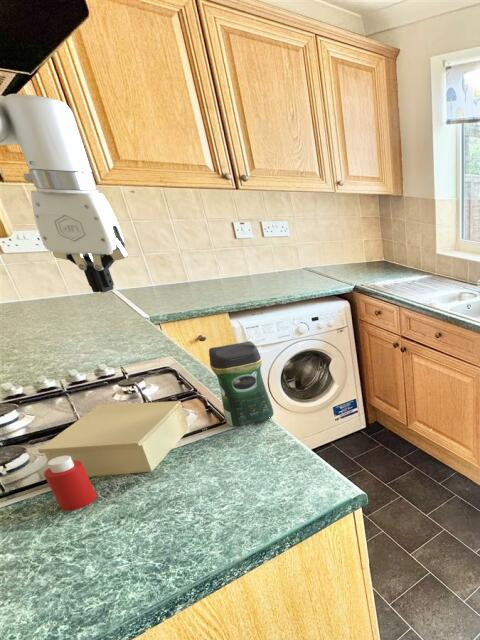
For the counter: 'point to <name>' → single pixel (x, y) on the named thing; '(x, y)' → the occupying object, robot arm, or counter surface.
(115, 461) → the bin
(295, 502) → the counter surface
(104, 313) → the counter surface
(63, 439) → the bin lid
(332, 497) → the counter surface
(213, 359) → the coffee jar
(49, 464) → the ketchup bottle
